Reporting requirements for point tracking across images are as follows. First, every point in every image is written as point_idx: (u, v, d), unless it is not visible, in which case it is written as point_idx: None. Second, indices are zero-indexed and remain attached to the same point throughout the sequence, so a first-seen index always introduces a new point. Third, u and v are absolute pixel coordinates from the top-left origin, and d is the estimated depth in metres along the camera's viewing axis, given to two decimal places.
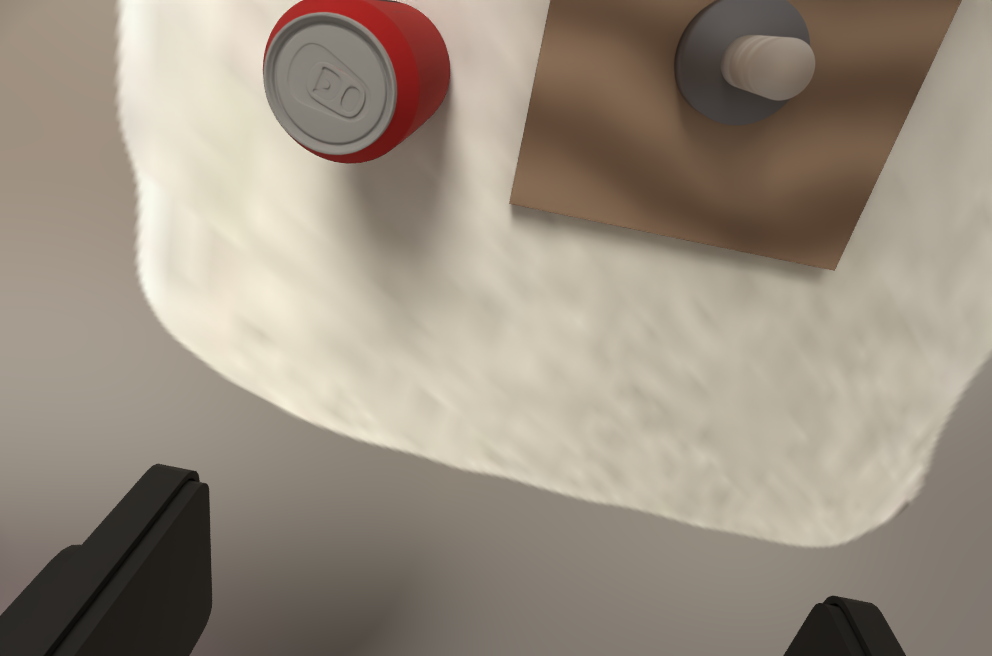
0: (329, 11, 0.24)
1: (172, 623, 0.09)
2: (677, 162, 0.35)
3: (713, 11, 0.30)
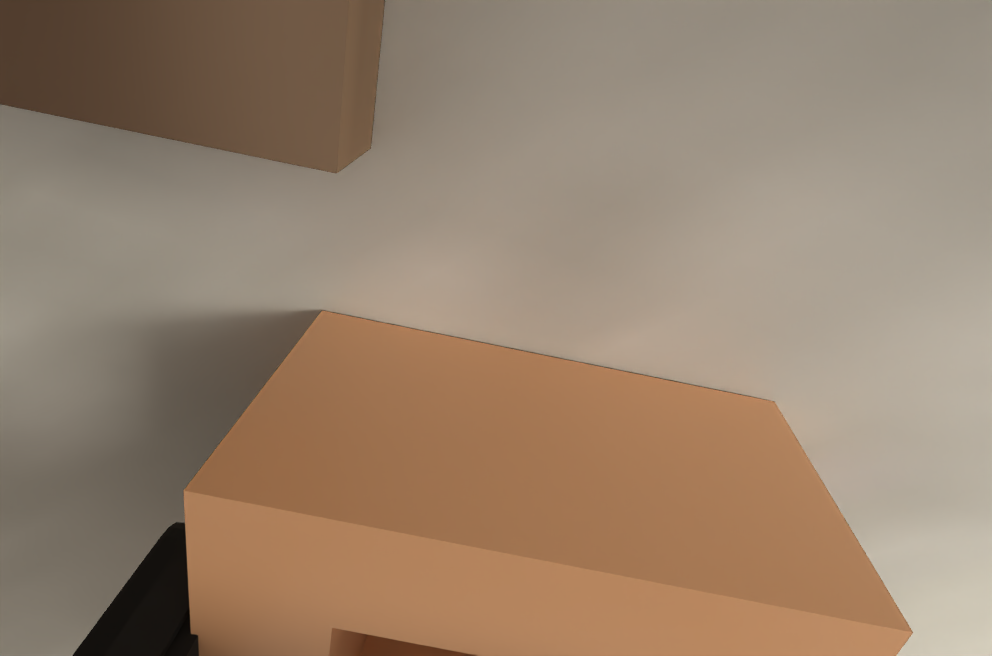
0: None
1: None
2: None
3: None
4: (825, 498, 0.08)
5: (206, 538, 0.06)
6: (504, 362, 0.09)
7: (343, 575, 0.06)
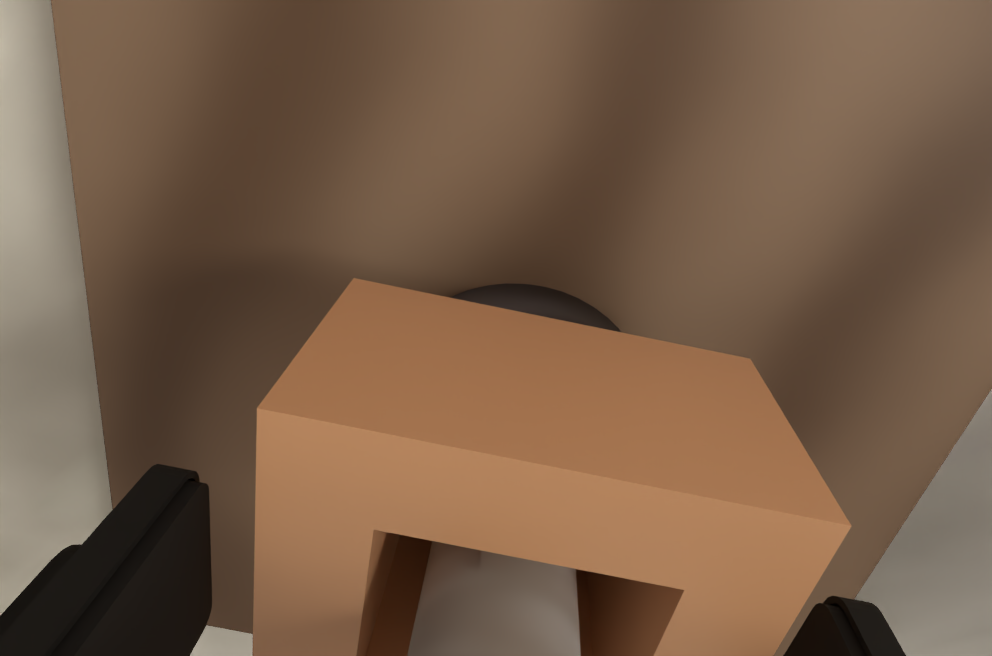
0: None
1: (172, 623, 0.09)
2: (275, 311, 0.14)
3: None
4: (788, 431, 0.09)
5: (273, 450, 0.07)
6: (513, 322, 0.10)
7: (385, 481, 0.07)
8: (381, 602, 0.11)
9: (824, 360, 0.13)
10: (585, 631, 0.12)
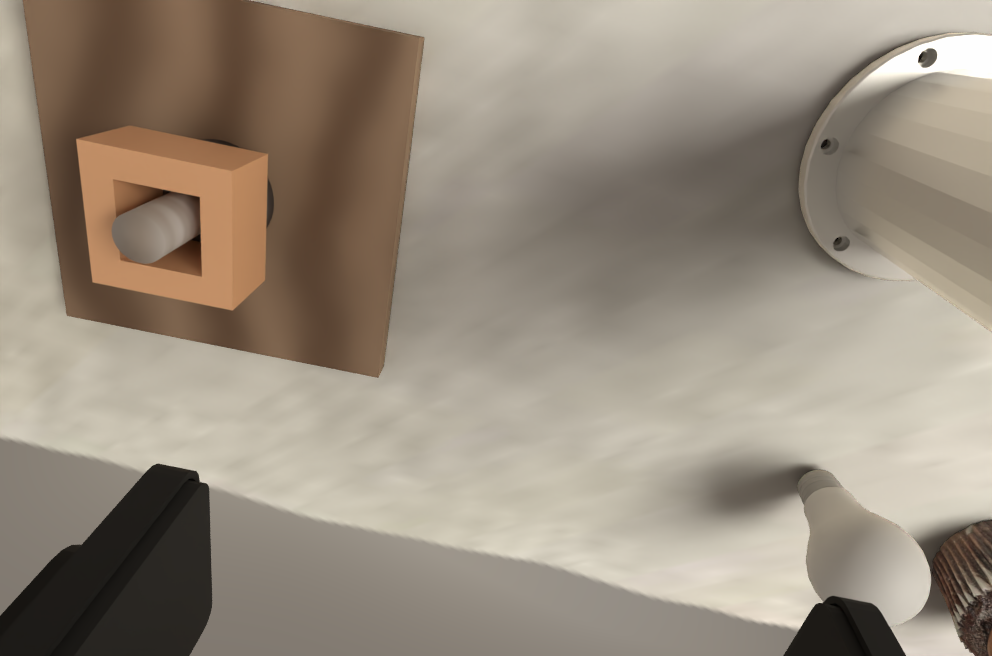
0: None
1: (172, 623, 0.09)
2: None
3: None
4: (247, 162, 0.29)
5: (82, 152, 0.28)
6: (180, 138, 0.31)
7: (112, 162, 0.28)
8: None
9: (335, 170, 0.34)
10: None
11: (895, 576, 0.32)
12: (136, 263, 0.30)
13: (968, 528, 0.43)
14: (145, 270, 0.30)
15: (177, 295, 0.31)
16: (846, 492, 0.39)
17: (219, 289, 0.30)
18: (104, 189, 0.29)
